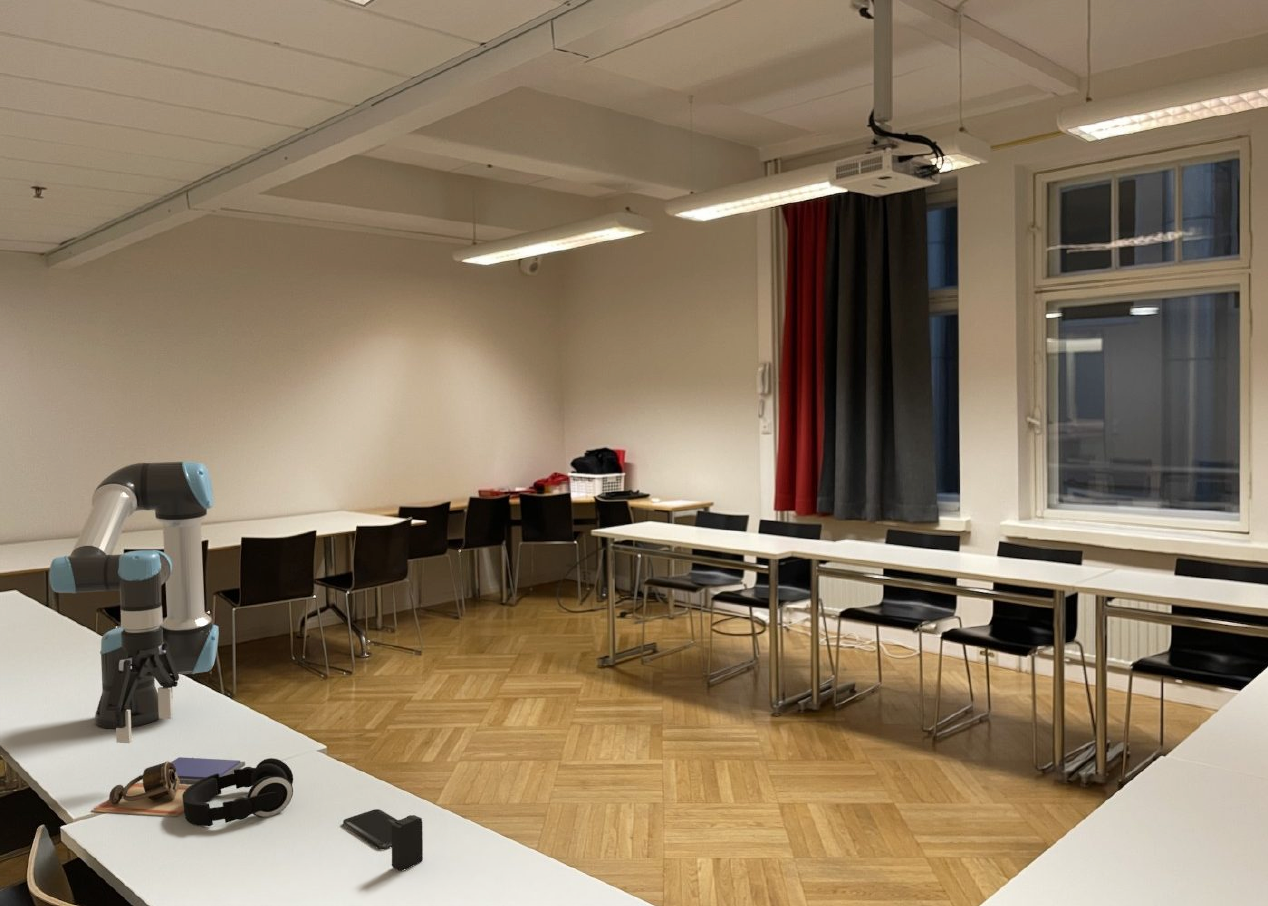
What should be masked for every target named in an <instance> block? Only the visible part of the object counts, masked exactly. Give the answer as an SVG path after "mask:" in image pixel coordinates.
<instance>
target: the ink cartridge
mask: <svg viewBox="0 0 1268 906" xmlns="http://www.w3.org/2000/svg"><path fill="white" fill-rule="evenodd" d="M397 820H398V821H396V822H395V823H393V824H391V832H392V847H391V867H392V868H394V869H396V870H398V871H400V872H403V871H402V870H404V869H406V870H408V869H409V867H410V868H411V866H412V867H413V865H414V866H416V865H418V864H420V863H422V862H423V859H424V857H423V855H424V853H423V850H424V847H423V845H424V844H423V843H424V842H423V840H424V838H423V836H424V835H423V834H424V833H423V818H422V817H419V816H417V815H416V814H413V815H412V814H410V815H407V816H406V817H404V818H402V819H401V818H400V819H397ZM407 868H408V869H407ZM404 871H405V870H404Z"/></svg>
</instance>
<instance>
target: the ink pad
mask: <svg viewBox="0 0 1268 906" xmlns="http://www.w3.org/2000/svg"><path fill="white" fill-rule="evenodd" d="M170 762H171V763H172V764H173V765H174V766H175V767H176V773H177V776H178V778H179V780H180V784H192V785H193V784H194V783H196V782H198V781H199V780H201V779H204V778H206V777H208V776H211V775H214V774H216V773H218V774H219V777H222V776H225V775H229V774H234V770H235V769H243V768H244V767H245V766H246V761H241V760H237V759H236V760H235V759H218V758H217V759H216V758H201V757H200V758H198V757H195V758H194V757H182V756H181V757H180V756H179V757H177V758H175V759H174V760H172V761H170Z"/></svg>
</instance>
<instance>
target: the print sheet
mask: <svg viewBox="0 0 1268 906" xmlns="http://www.w3.org/2000/svg"><path fill="white" fill-rule="evenodd" d="M190 786H191V785H189V784H187V785H184V784H179V787H178V790H177V793H176V796H175V798H174V800H171V798H170V796H169V795H166V796H163V797H160V798H157V799H153V800H151V799H149V798H148V797H146V798H143V799H140V800H135V801H126V800H125V799H124V798H123V796H122V798H121V800H120V801H119V802H118V803H114V804H113V803H111V802H110V800H109V799H107V800H105V801H104V802H103V803H101V804H99V805H98V806H96V807H94V808H93V809H91V810H90V812H91V813H103V814H121V815H132V816H133V815H136V816H147V817H149V816H150V817H151V816H152V817H166V818H177V817H179V816H181V815H182V814H183V813H185V811H184V805H183V799H182V795H183V793H184V791H185V790H186V789H187V788H188V787H190ZM142 793H145V790H144V787H143V782H140V781H138V782H137V783H135V784H134V785H133V786H131V787H130V788H129V790H128V791H127V794H126V796H135V795H139V794H142Z"/></svg>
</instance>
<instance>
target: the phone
mask: <svg viewBox="0 0 1268 906" xmlns="http://www.w3.org/2000/svg"><path fill="white" fill-rule="evenodd" d="M398 820H399V819H396V817H393V816H392V815H391V814H388V813H387V812H385V811H383V810H381V809H377V808H376V809H375V808H374V809H371V810H368V811H365V812H362V813H359V814H357V815H353V816H350V817H347V818H344V819H343V822H342V823H343V825H342V826H343V827H344V828H346V829H347V830H349V831H350V832H351V833H353V834H355V835H356V836H358V837H360V838H361V839H363V840H364V841H366V842H367V843H368V844H370V845H371V846H373V847H374V846H375V847H374V848H376V847H377V848H378V849H377V848H376V849H377V850H380V849H385V850H388V849H391V848H392V832H391V824H393V823H395V822H396V821H398ZM390 847H391V848H390ZM387 848H388V849H387Z"/></svg>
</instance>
